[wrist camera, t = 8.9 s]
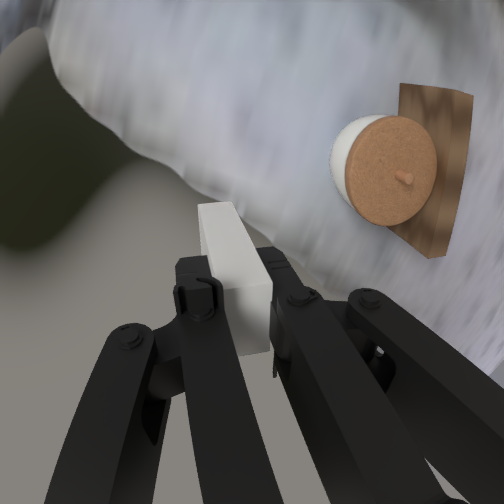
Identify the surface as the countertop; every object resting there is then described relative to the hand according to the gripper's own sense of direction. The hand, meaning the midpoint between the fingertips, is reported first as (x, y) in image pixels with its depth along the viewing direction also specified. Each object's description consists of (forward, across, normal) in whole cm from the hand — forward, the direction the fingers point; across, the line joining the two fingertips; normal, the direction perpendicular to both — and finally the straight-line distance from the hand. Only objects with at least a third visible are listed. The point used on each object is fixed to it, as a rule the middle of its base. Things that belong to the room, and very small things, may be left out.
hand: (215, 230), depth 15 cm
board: (+18, +25, -1) cm, 30 cm away
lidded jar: (+18, +18, -1) cm, 25 cm away
